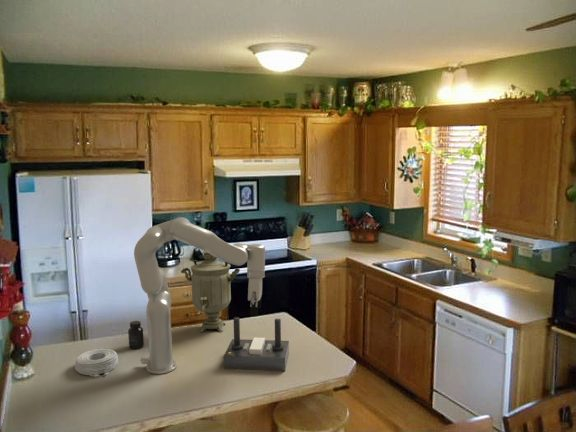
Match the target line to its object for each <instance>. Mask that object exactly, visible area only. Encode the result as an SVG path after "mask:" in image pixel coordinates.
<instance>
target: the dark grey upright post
mask: <svg viewBox="0 0 576 432" xmlns="http://www.w3.org/2000/svg"><path fill="white" fill-rule="evenodd" d="M240 320H241V319H240V317H233V339H234V343H233V344H232V349H235V350H238V349H242V348H243V344H242V343H240V339H241V331H240V330H241V327H240V325H241V323H240Z"/></svg>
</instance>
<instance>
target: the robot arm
mask: <svg viewBox="0 0 576 432" xmlns="http://www.w3.org/2000/svg"><path fill="white" fill-rule="evenodd" d="M174 240H177V241H179V242H182V243H184V244H186V245H188V246H192V247H194V248H197V249H199V250H201V251H205V252H207V253H209V254H211V255H213V256H215V257H217V259H218V260H221V261H223V262H228V264H230V265H233V266H243V265H245V264H247V265H246V267H247V270H246V273H247V274H246V277H247V278H248V287H247V291H248V292H247V301H250V307H249V316H250V317H251V316H253V317H257V316H258V315H259V314H258V313H259V309H261V308H262V295H263V279H264V278H265V277H266V275H265V274H266V273H265V272H266V268H265V267H266V247H265V245H264V244H261V243H252V244H250V243H249V244H245V243H239V242H237V243H233V244H232V243H229V242H226V241H224V240H223V239H222V238H220V237H218V236H217V235H216V233H214V232H213V231H211V230H209V229H206V228H203V227H202V226H198V225H196V224H195V223H191V222H190V220H189V219H188V218H186V217H183V216H181V217H175V218H172V219H170V220H168V221H165V222H164V221H163V222H162V223H159V224H156V225H153V226H151V227H149V228H148V229H147V230H146V231H145V233H144V234H143V235H142V237H140V238H139V240H138V241H137V242H136V244H135V246H134V249H133V257H134V261H135V265H136V270H137V274H138V277H139V281H140V286H141V289H142V290H143V292H144V293H146V294H147V298H148V302H147V304H146V314H145V315H146V323H147V332H148V333H147V335H148V353H149V355H148V357H140V359H139V361H140V363H141V364H142V365H144V364H146V366H145V367H146V368H145V369H146V372H148V373H150V374H155V375H162V374H167V373H171V372H173V371H174V370H175V369H176V368H177V362H176V361H175V360H173V340H172V339H173V338H172V320H171V306H172V296H171V291H170V289H169V288H170V287H169V284H168V280H167V277H166V276H167V275H166V274H165V272H164V271H163V269H161V268H160V267H159V264H158V260H157V256H156V253H157V251H158V250H160V249H161V248H162V247H163V245H164V244H166V243H168V242H170V241H174Z"/></svg>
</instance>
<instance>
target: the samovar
mask: <svg viewBox="0 0 576 432" xmlns="http://www.w3.org/2000/svg"><path fill="white" fill-rule="evenodd" d="M201 254H203V255H202V256H203V259H204V260H203V261H201V262H199V263H197V262H198V259H197V260H196V259H195V260H193V261H192V262H193V265H191V266H190V268H189V267H185V268H182V269H181V270H180V272H181V274H184V276H185V278H186V280H187V281H189V282H191V299H192V301H191V302H192V304H193V306H194V307H195V308H196V309H197V310H198V311H200V312H202V313H205V315H204V316H205V317H206V319H205V320H204V321H203V322H202V324H201V326H202V329H200V331H199V332H200V333H203V332H204V331H205V330H206V329H208V330H211V329H212V330H214V329H215V330H218V332H219V333H223V332H224V330H223V329H222V327H224V325H226V323H225V322H224V320H222V319H221V318H219V316H220V312H221V311H223V310H225V309H226V308H227V307H229V305H230V303H231V300H232V294H231V293H232V292H231V282H233V280H234V279H235V278H236V276H237V274H239V272H240V268H235V269H234V270H233V271H232V272H231V273H230V272H229V271H230V270H231V269H230V268H231V265H232V264H231V263H228V262H226V261H223V262H222V261H220V260H217V259H218V258H217V257H215V256H213V255H211V254H209V253H207V252H205V251H203V250H201Z"/></svg>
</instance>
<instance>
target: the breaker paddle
mask: <svg viewBox="0 0 576 432" xmlns="http://www.w3.org/2000/svg"><path fill="white" fill-rule="evenodd" d="M252 340H253V341H252V344H251V346H250V349H249V354H252V355H262V354H263V351H264V348H265V340H266V337H253V339H252Z"/></svg>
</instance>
